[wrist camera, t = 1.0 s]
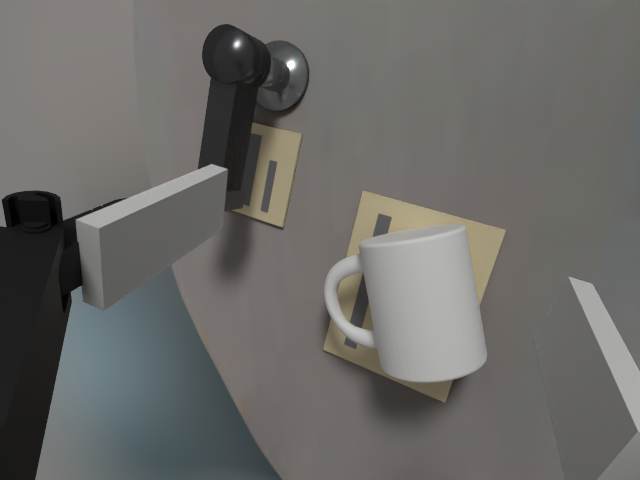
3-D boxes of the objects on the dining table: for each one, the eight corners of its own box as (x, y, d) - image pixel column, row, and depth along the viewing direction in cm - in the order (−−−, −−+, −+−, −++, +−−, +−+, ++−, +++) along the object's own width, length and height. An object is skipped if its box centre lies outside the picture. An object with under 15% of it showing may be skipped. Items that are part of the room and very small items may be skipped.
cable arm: (234, 35, 33) (206, 21, 30) (275, 41, 32) (251, 27, 29) (209, 197, 37) (182, 200, 34) (246, 209, 35) (221, 213, 32)
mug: (470, 219, 32) (459, 233, 25) (489, 339, 33) (484, 385, 26) (334, 240, 38) (293, 255, 30) (353, 343, 38) (318, 382, 31)
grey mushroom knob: (301, 116, 37) (276, 110, 33) (247, 104, 39) (217, 96, 35) (315, 47, 36) (291, 31, 32) (258, 38, 38) (228, 22, 34)
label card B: (445, 401, 36) (444, 403, 36) (324, 348, 40) (322, 350, 40) (505, 230, 32) (505, 230, 32) (364, 190, 36) (362, 190, 36)
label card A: (283, 227, 40) (281, 227, 39) (225, 207, 42) (223, 207, 42) (302, 134, 38) (300, 134, 37) (240, 119, 40) (237, 118, 40)
